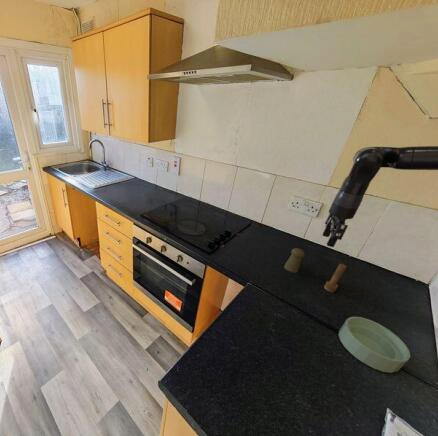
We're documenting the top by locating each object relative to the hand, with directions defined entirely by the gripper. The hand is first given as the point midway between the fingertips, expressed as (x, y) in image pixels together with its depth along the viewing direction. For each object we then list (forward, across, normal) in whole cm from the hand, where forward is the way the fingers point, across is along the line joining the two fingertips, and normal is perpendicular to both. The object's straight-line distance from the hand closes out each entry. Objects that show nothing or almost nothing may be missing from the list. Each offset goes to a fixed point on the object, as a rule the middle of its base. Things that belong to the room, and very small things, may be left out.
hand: (327, 240), depth 90 cm
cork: (+23, +9, +6) cm, 25 cm away
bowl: (+23, -26, -14) cm, 38 cm away
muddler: (+23, +1, -9) cm, 24 cm away
